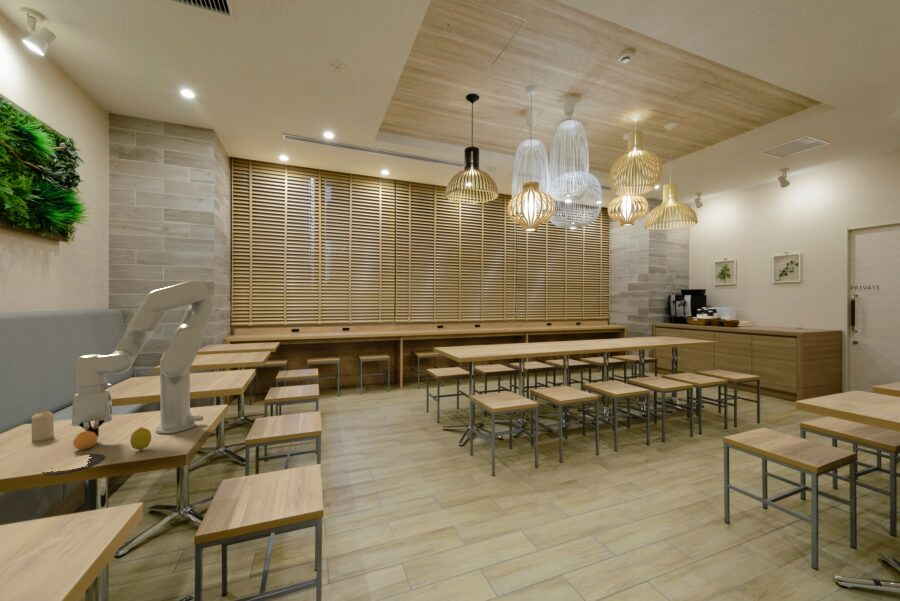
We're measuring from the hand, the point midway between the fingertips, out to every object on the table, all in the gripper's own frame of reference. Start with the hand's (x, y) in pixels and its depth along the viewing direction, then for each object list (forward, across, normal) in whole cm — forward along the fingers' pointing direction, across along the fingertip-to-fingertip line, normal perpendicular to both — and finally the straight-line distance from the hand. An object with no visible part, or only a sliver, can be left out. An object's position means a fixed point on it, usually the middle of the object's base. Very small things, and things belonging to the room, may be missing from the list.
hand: (92, 439), depth 134 cm
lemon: (+2, -16, +17) cm, 24 cm away
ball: (-2, 0, +6) cm, 6 cm away
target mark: (+1, 0, +20) cm, 20 cm away
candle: (+2, +17, -15) cm, 23 cm away
